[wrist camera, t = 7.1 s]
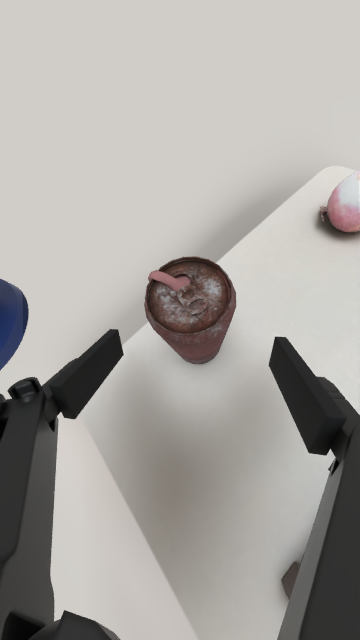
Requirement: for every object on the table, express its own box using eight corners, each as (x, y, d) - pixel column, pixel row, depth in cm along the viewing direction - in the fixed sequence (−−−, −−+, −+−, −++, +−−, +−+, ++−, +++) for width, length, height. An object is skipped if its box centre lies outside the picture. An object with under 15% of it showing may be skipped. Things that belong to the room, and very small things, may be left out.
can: (184, 314, 25) (160, 241, 12) (226, 329, 23) (251, 263, 10) (167, 353, 24) (118, 317, 11) (211, 371, 22) (218, 357, 9)
